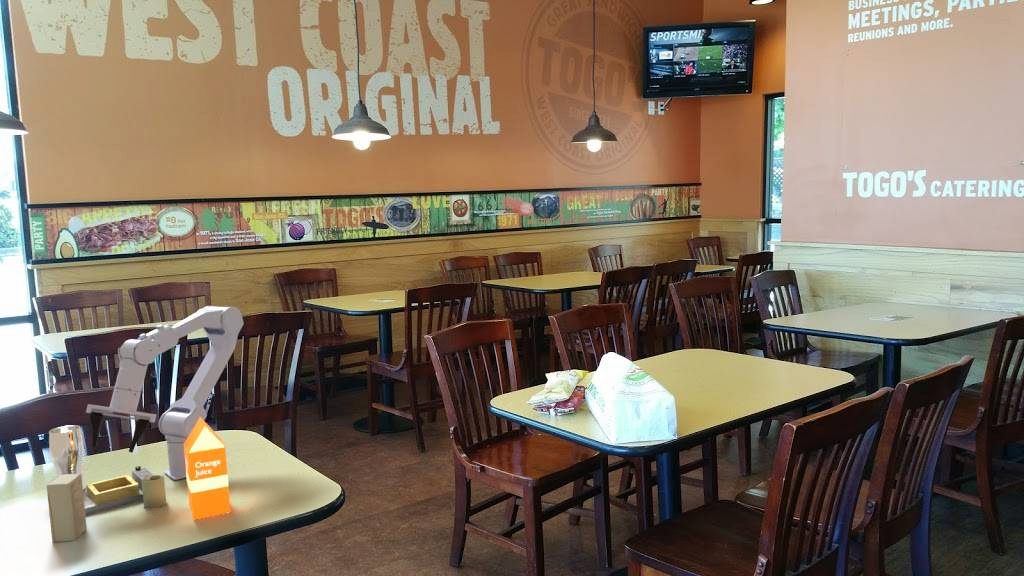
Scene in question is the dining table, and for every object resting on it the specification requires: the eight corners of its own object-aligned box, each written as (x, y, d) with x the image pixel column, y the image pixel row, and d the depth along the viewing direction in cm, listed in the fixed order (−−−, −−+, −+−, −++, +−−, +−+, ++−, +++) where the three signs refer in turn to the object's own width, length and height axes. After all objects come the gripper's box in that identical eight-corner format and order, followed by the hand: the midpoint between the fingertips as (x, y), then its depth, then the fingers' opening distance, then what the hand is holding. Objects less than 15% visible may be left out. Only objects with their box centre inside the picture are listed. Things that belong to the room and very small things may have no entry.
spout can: (162, 499, 182) (160, 469, 181) (169, 504, 179) (166, 474, 178) (141, 505, 179) (138, 474, 178) (147, 510, 176) (144, 479, 175)
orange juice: (192, 520, 169) (184, 428, 167) (188, 507, 177) (180, 418, 175) (231, 512, 173) (224, 422, 170) (225, 499, 180) (218, 413, 178)
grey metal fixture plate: (147, 482, 194) (145, 464, 193) (162, 495, 185) (160, 476, 184) (64, 502, 182) (62, 483, 182) (75, 517, 173) (73, 497, 173)
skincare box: (66, 530, 167) (59, 473, 165) (88, 528, 167) (82, 472, 166) (51, 543, 160) (44, 484, 159) (74, 541, 161) (68, 483, 159)
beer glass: (73, 496, 186) (66, 433, 185) (47, 495, 188) (40, 433, 186) (94, 485, 193) (88, 425, 191) (69, 484, 195) (63, 424, 193)
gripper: (91, 384, 179) (74, 445, 176) (159, 395, 183) (145, 454, 180) (95, 385, 186) (79, 444, 183) (161, 396, 190) (147, 454, 187)
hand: (112, 449), depth 182 cm, fingers open, 7 cm apart
